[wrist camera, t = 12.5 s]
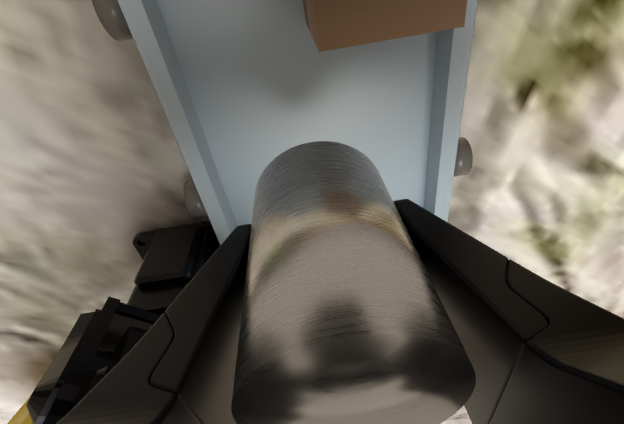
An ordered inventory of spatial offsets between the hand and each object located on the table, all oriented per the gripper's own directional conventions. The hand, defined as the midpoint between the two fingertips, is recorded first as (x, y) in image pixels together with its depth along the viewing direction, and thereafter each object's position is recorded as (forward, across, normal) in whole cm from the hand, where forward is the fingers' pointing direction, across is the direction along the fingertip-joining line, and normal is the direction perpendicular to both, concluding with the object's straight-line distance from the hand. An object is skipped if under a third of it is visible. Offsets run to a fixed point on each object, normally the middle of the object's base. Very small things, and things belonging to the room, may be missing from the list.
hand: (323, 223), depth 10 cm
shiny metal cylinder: (+1, 0, 0) cm, 1 cm away
